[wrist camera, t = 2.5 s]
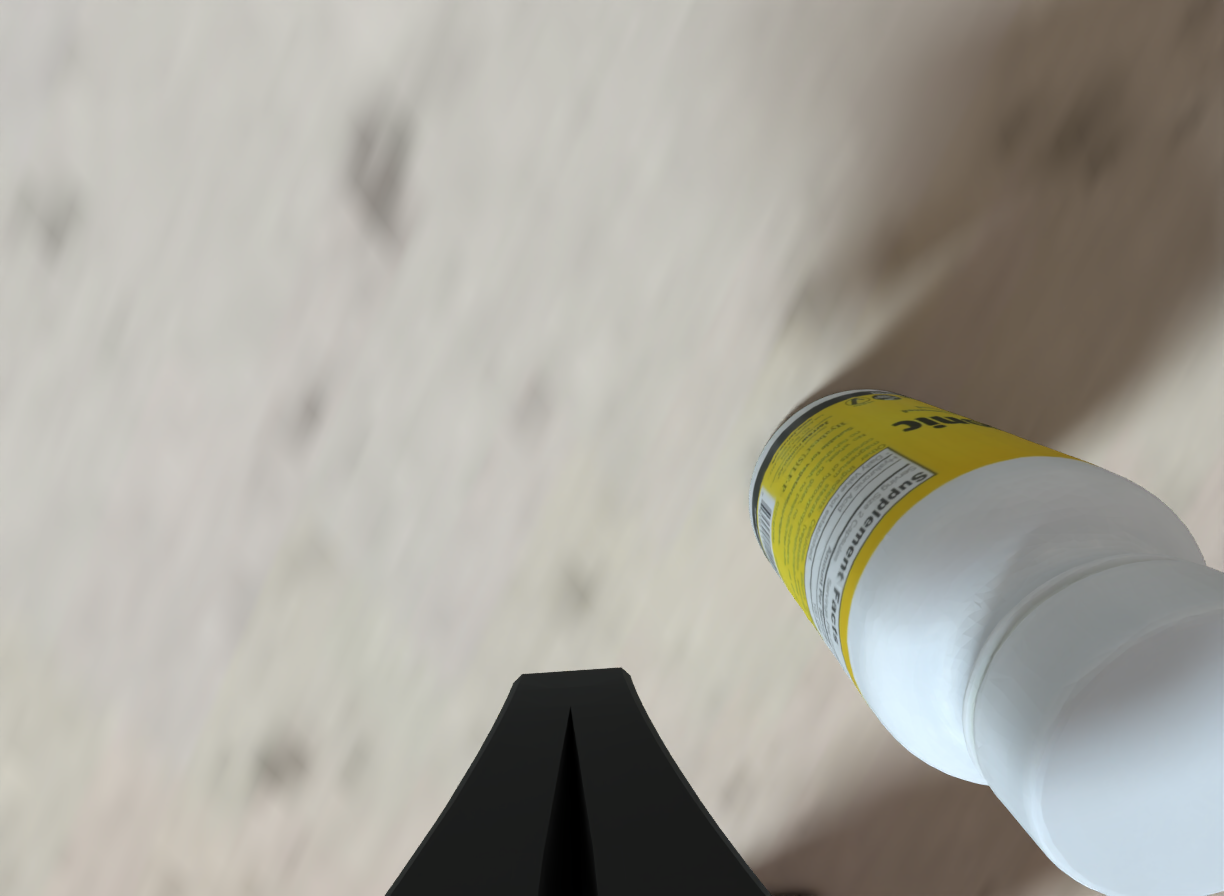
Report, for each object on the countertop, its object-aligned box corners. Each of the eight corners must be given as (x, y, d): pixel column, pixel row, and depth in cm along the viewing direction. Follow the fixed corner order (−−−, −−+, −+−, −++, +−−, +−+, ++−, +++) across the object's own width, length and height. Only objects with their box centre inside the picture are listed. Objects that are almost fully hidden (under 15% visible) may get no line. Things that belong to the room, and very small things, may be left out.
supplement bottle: (994, 454, 17) (1541, 698, 7) (864, 617, 18) (1194, 1014, 8) (829, 340, 16) (1219, 453, 6) (701, 521, 17) (870, 850, 7)
